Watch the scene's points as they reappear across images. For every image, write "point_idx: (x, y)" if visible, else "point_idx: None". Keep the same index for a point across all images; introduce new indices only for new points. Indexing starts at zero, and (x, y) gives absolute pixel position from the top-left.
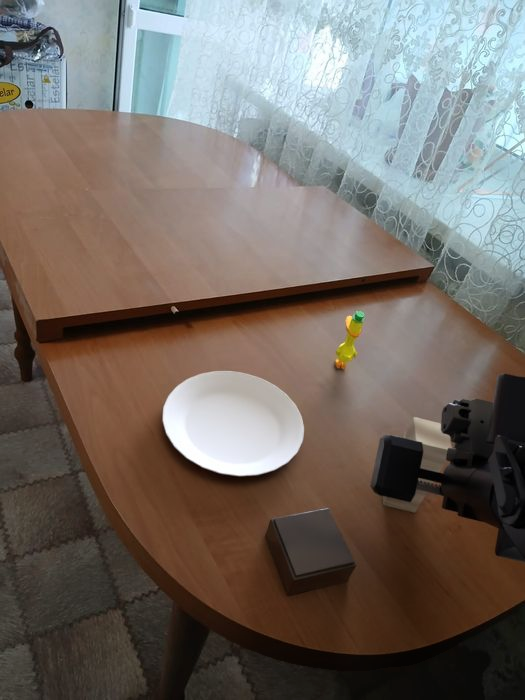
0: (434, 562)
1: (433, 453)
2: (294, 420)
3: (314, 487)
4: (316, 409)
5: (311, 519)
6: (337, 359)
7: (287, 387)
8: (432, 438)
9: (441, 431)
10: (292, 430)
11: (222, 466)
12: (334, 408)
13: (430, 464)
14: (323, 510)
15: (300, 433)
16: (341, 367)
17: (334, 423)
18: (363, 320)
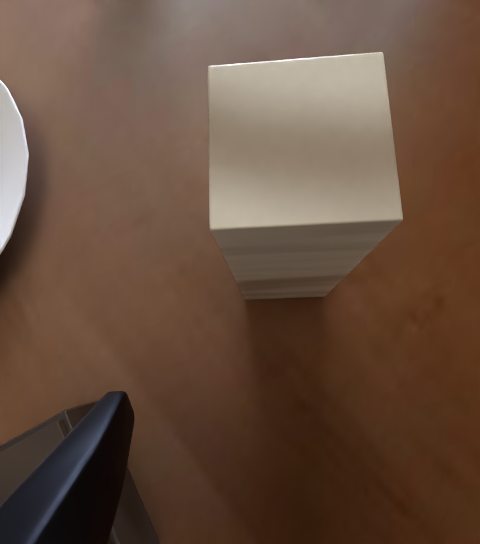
0: (372, 428)
1: (313, 238)
2: (11, 135)
3: (82, 301)
4: (85, 73)
5: (9, 475)
6: None
7: (17, 34)
8: (297, 171)
9: (348, 107)
10: (9, 166)
11: None
12: (128, 53)
13: (318, 256)
14: (43, 433)
15: (20, 172)
16: None
17: (128, 98)
18: None
